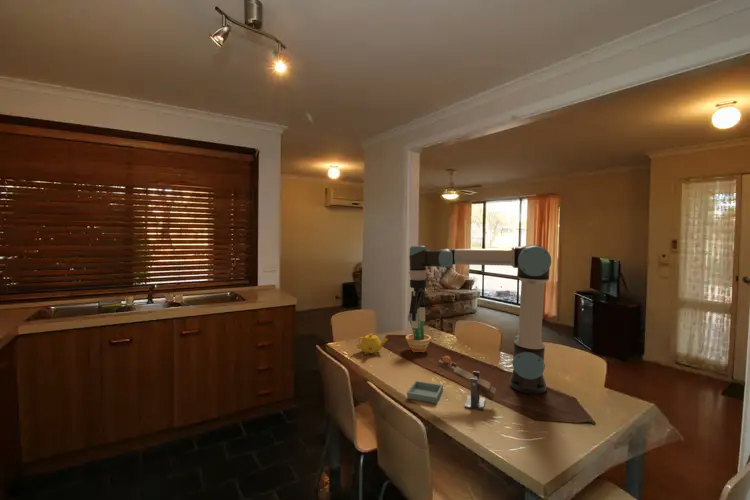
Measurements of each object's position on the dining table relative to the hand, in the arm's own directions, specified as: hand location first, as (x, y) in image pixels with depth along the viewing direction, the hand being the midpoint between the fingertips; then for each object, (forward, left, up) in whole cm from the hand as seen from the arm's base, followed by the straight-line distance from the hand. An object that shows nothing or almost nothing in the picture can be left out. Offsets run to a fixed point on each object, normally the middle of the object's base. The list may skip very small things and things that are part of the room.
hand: (418, 324), depth 162 cm
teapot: (+36, -29, -28) cm, 54 cm away
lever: (-22, +12, -20) cm, 32 cm away
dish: (-6, +12, -28) cm, 31 cm away
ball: (-15, +12, -11) cm, 22 cm away
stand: (-27, +12, -28) cm, 40 cm away
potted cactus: (+12, -43, -28) cm, 52 cm away
